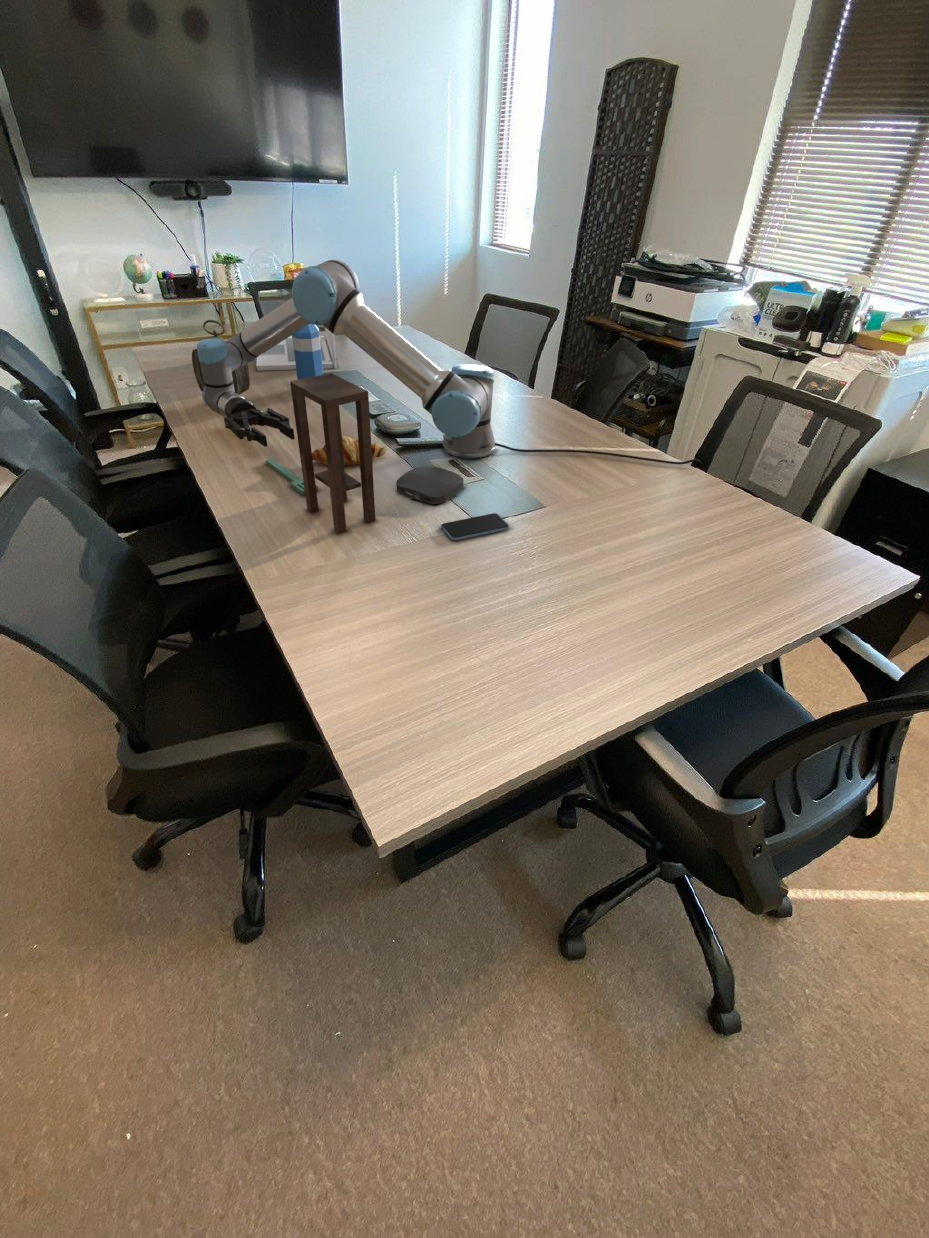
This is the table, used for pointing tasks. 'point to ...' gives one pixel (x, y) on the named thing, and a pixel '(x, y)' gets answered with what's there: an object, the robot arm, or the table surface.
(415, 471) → the media streaming box
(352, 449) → the croissant
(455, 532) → the smartphone
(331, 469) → the plant stand
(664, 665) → the table surface
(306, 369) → the water bottle
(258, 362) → the laptop
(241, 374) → the tabletop clock
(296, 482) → the fork
